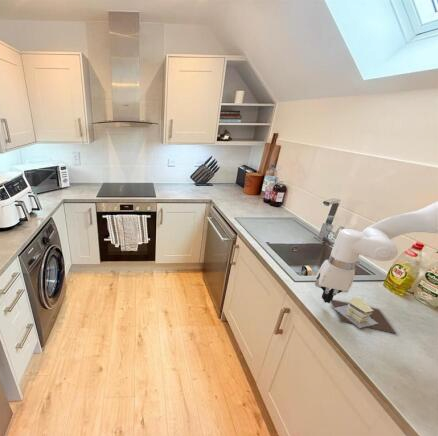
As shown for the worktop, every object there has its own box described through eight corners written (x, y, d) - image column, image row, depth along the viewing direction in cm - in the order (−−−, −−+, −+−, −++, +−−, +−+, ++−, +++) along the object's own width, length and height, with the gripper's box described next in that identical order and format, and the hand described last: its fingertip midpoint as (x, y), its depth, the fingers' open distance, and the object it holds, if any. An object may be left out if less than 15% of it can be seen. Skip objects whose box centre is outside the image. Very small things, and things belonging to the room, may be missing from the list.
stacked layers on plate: (378, 323, 87) (384, 312, 85) (359, 328, 85) (365, 316, 83) (351, 304, 96) (356, 293, 94) (333, 308, 94) (338, 297, 92)
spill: (378, 309, 94) (378, 309, 94) (395, 333, 83) (395, 333, 83) (330, 300, 99) (331, 299, 99) (341, 321, 88) (341, 321, 88)
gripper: (361, 260, 87) (344, 298, 94) (314, 252, 92) (302, 290, 99) (371, 271, 81) (352, 312, 88) (320, 263, 85) (306, 302, 92)
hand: (325, 300), depth 93 cm, fingers closed
